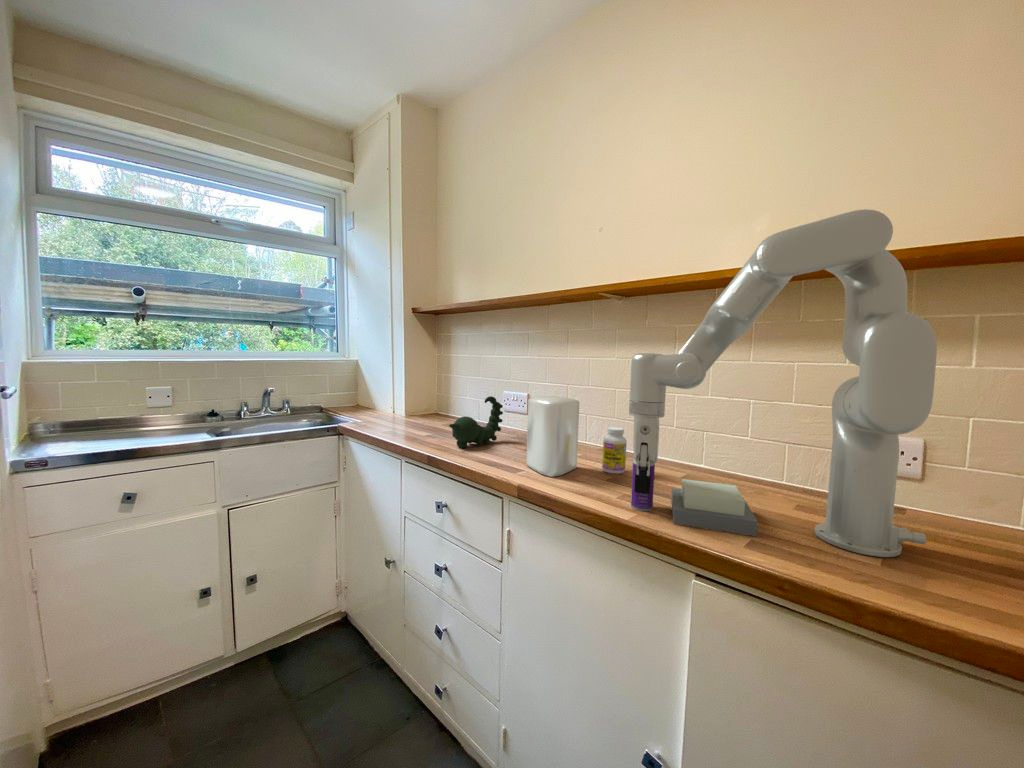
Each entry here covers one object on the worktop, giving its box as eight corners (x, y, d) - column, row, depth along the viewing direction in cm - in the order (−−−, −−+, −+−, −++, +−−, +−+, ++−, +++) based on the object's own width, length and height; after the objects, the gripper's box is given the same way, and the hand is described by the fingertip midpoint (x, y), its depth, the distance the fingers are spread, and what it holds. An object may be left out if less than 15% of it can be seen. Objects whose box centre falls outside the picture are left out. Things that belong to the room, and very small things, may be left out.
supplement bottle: (599, 471, 121) (601, 428, 120) (605, 466, 127) (607, 425, 126) (622, 475, 118) (624, 431, 117) (627, 470, 124) (629, 428, 123)
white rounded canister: (576, 466, 127) (578, 395, 125) (578, 479, 113) (582, 400, 111) (526, 463, 128) (529, 393, 127) (523, 476, 114) (526, 397, 112)
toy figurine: (487, 443, 163) (438, 446, 144) (492, 395, 163) (443, 393, 144) (505, 447, 157) (456, 451, 138) (509, 397, 157) (461, 395, 138)
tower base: (741, 509, 93) (743, 484, 93) (756, 536, 79) (758, 506, 79) (671, 500, 98) (672, 475, 98) (673, 523, 84) (675, 495, 84)
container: (638, 512, 90) (641, 444, 89) (626, 504, 95) (629, 440, 93) (656, 510, 91) (660, 443, 90) (644, 503, 96) (648, 439, 95)
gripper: (665, 415, 82) (660, 504, 83) (664, 406, 98) (660, 480, 99) (626, 412, 85) (622, 498, 86) (631, 403, 101) (627, 477, 102)
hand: (642, 488), depth 93 cm, fingers closed on container, 4 cm apart
